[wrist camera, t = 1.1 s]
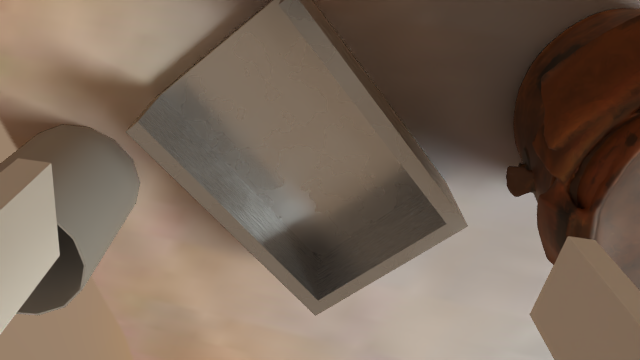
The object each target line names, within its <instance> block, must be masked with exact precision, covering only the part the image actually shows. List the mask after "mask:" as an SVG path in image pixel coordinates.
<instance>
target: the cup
mask: <svg viewBox="0 0 640 360" xmlns="http://www.w3.org/2000/svg"><path fill="white" fill-rule="evenodd" d="M18 158H20V159H27V160H34V161H41V162H48V163H51V165H52V176H53V186H54V197H55V208H56V219H57V230H58V241H59V252H60V256H59V257H58V259H57V260H56V261H55V263H54V264H53V265H52V267H51V268H50V269H49V271H48V272H47V273H46V275H45V276H44V277H43V278H42V280H41V281H40V282H39V284H38V285H37V286H36V288H35V289H34V290H33V292H32V293H31V294H30V296H29V297H28V298H27V300H26V301H25V302H24V304H23V305H22V306H21V308H20V309H19V310H18V312H17V313H16V314H28V315H40V314H44V313H47V312H50V311H54V310H57V309H60V308H64V307H66V305H68V304H69V302H71V301H72V300H73V299H74V298H75V297H76V295H78V294H79V293H80V291H82V289H83V288H84V286H85V284H86V283H87V281H88V280H89V278H90V277H91V275H92V273H93V272H94V270H95V268H96V267H97V265H98V264H99V262H100V260H101V259H102V257H103V255H104V254H105V252H106V251H107V249H108V247H109V246H110V244H111V243H112V241H113V239H114V238H115V236H116V234H117V233H118V231H119V230H120V228H121V226H122V225H123V223H124V222H125V220H126V218H127V217H128V215H129V213H130V212H131V210H132V209H133V207H134V205H135V204H136V201H137V196H138V191H139V186H140V180H139V177H138V174H137V171H136V168H135V165H134V162H133V160H132V158H131V157H130V156H129V155H128V154H127V153H126V152H125V151H124V150H123V148H122V147H121V146H120V145H119V144H118V143H117V142H116V141H115V140H114V139H112V138H110V137H108V136H106V135H104V134H102V133H100V132H98V131H96V130H94V129H92V128H90V127H82V126H72V125H60V126H57V127H54V128H51V129H49V130H46V131H43V132H40V133H39V134H37V135H36V136H35V137H33V138H32V139H31V140H30V141H28V142H27V143H26V144H25V145H23V146H22V147H21V148H19V149H18V150H17V151H16V152H14V153H13V154H12V155H11V156H9V157H8V158H7V159H6V160H5V161H3V162H2V163H0V172H2V171H3V170H4V169H5V168H7V167H8V166H9V165H10V164H12V163H13V162H14V161H15V160H16V159H18Z"/></svg>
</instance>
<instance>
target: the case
mask: <svg viewBox="0 0 640 360" xmlns="http://www.w3.org/2000/svg"><path fill="white" fill-rule="evenodd" d="M514 135H515V142H516V146H517V149H518V152H519V154H520V157H521V160H522V162H523V164H521V163H519V167H513V166H509V167H508V168H507V175H506V179H507V187H508V189H509V191H510V192H511V193H512V194H513V195H514V196H515V197H519V196H521V195H523V194H526V193H529V192H532V193H534V195H535V197H536V200H537V202H538V205H537V225H538V230H539V235H540V238H541V241H542V245H543V248H544V251H545V254H546V257H547V259H548V260H549V261H550V262H551V263H552V264H553V265H554V264H555V262H556V260H557V258H558V255H559V253H560V251H561V249H562V247H563V245H564V243H565V241H566V239H567V237H568V236H570V237H577V238H584V239H591V240H596V242H597V243H598V244H599V245H600V246H601V247H602V248H603V249H604V251H605V252H606V253H607V254H608V255H609V256H610V257H611V259H612V260H613V261H614V262H615V263H616V264H617V265H618V267H619V268H620V269H621V270H622V271H623V272H624V273H625V274H626V276H627V277H628V278H629V279H630V280H631V281H632V282H633V284H634V285H635V286H636V287H637V288H638V289H639V290H640V9H629V8H622V9H613V10H608V11H604V12H600V13H597V14H594V15H592V16H589V17H587V18H585V19H583V20H581V21H580V22H578V23H576V24H575V25H573V26H571V27H570V28H568V29H567V30H566V31H564V32H563V33H562V34H560V35H559V36H558V37H556V38H555V39H554V40H553V41H552V42H551V43H550V44H548V45H547V46H546V47H545V48H544V50H543V51H542V52H541V53H540V54H539V55H538V56H537V58H536V59H535V60H534V62H533V63H532V65H531V66H530V68H529V70H528V72H527V74H526V76H525V78H524V80H523V82H522V84H521V87H520V89H519V92H518V96H517V100H516V105H515V111H514Z"/></svg>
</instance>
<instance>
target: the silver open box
mask: <svg viewBox="0 0 640 360" xmlns="http://www.w3.org/2000/svg"><path fill="white" fill-rule="evenodd" d="M126 133H127V134H128V135H129V136H130V137H131V138H132V139H133V140H134V141H136V142H137V143H138V144H139V145H140V146H141V147H142V148H143V149H144V150H145V151H146V152H147V153H148V154H149V155H150V156H151V157H152V158H153V159H154V160H155V161H156V162H157V163H158V164H159V165H160V166H161V167H162V168H163V169H164V170H165V171H167V172H168V173H169V174H170V175H171V176H172V177H173V178H174V179H175V180H176V181H177V182H178V183H179V184H180V185H181V186H182V187H183V188H184V189H185V190H186V191H187V192H188V193H189V194H190V195H191V196H192V197H193V198H194V199H195V200H196V201H197V202H199V203H200V204H201V205H202V206H203V207H204V208H205V209H206V210H207V211H208V212H209V213H210V214H211V215H212V216H213V217H214V218H215V219H216V220H217V221H218V222H219V223H220V224H221V225H222V226H223V227H224V228H225V229H226V230H227V231H228V232H230V233H231V234H232V235H233V236H234V237H235V238H236V239H237V240H238V241H239V242H240V243H241V244H242V245H243V246H244V247H245V248H246V249H247V250H248V251H249V252H250V253H251V254H252V255H253V256H254V257H255V258H256V259H257V260H258V261H259V262H261V263H262V264H263V265H264V266H265V267H266V268H267V269H268V270H269V271H270V272H271V273H272V274H273V275H274V276H275V277H276V278H277V279H278V280H279V281H280V282H281V283H282V284H283V285H284V286H285V287H286V288H287V289H288V290H289V291H290V292H292V293H293V294H294V295H295V296H296V297H297V298H298V299H299V300H300V301H301V302H302V303H303V304H304V305H305V306H306V307H307V308H308V309H309V310H310V311H311V312H312V313H313V314H314V315H315V316H316V315H317V314H319V313H321V312H322V311H324V310H326V309H328V308H329V307H331V306H333V305H334V304H336V303H338V302H340V301H341V300H343V299H345V298H346V297H348V296H350V295H351V294H353V293H355V292H357V291H358V290H360V289H362V288H363V287H365V286H367V285H368V284H370V283H372V282H374V281H375V280H377V279H379V278H380V277H382V276H384V275H385V274H387V273H389V272H391V271H392V270H394V269H396V268H397V267H399V266H401V265H403V264H404V263H406V262H408V261H409V260H411V259H413V258H414V257H416V256H418V255H420V254H421V253H423V252H425V251H426V250H428V249H430V248H431V247H433V246H435V245H437V244H438V243H440V242H442V241H443V240H445V239H447V238H448V237H450V236H452V235H454V234H455V233H457V232H459V231H460V230H462V229H464V228H466V227H467V226H468V225H467V223H466V221H465V219H464V217H463V215H462V213H461V211H460V209H459V207H458V205H457V203H456V201H455V199H454V197H453V195H452V193H451V191H450V189H449V187H448V185H447V183H446V182H445V180H444V179H443V178H442V176H441V175H440V173H439V172H438V171H437V169H436V168H435V167H434V165H433V164H432V163H431V161H430V160H429V158H428V157H427V156H426V154H425V153H424V152H423V150H422V149H421V148H420V146H419V145H418V144H417V142H416V141H415V139H414V138H413V137H412V135H411V134H410V133H409V131H408V130H407V129H406V127H405V126H404V124H403V123H402V122H401V120H400V119H399V118H398V116H397V115H396V114H395V112H394V111H393V109H392V108H391V107H390V105H389V104H388V103H387V101H386V100H385V99H384V97H383V96H382V94H381V93H380V92H379V90H378V89H377V88H376V86H375V85H374V84H373V82H372V81H371V80H370V78H369V77H368V75H367V74H366V73H365V71H364V70H363V69H362V67H361V66H360V65H359V63H358V62H357V60H356V59H355V58H354V56H353V55H352V54H351V52H350V51H349V50H348V48H347V47H346V45H345V44H344V43H343V41H342V40H341V39H340V37H339V36H338V35H337V33H336V32H335V30H334V29H333V28H332V26H331V25H330V24H329V22H328V21H327V20H326V18H325V17H324V15H323V14H322V13H321V11H320V10H319V9H318V7H317V6H316V5H315V3H314V2H313V1H312V0H272V1H270V2H269V3H268V4H267V5H266V6H264V7H263V8H262V9H261V10H260V11H259V12H257V13H256V14H255V15H254V16H253V17H251V18H250V19H249V20H248V21H247V22H245V23H244V24H243V25H242V26H241V27H239V28H238V29H237V30H236V31H235V32H233V33H232V34H231V35H230V36H229V37H227V38H226V39H225V40H224V41H223V42H221V43H220V44H219V45H218V46H217V47H216V48H214V49H213V50H212V51H211V52H210V53H208V54H207V55H206V56H205V57H204V58H202V59H201V60H200V61H199V62H198V63H196V64H195V65H194V66H193V67H192V68H190V69H189V70H188V71H187V72H186V73H184V74H183V75H182V76H181V77H180V78H178V79H177V80H176V81H175V82H174V83H173V84H171V85H170V86H169V87H168V88H167V89H165V90H164V91H163V92H162V93H161V94H159V95H158V96H157V97H156V98H155V99H154V100H153V101H152V102H151V103H150V104H149V106H148V107H147V108H146V109H145V110H144V111H143V112H142V114H141V115H140V116H139V117H138V118H137V119H136V121H135V122H134V123H133V124H132V125H131V126H130V127H129V129H128V130H127V131H126Z"/></svg>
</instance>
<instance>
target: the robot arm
mask: <svg viewBox="0 0 640 360" xmlns="http://www.w3.org/2000/svg"><path fill="white" fill-rule="evenodd" d="M59 256H60V252H59V241H58V230H57V219H56V208H55V197H54V186H53V176H52V165H51V163H48V162H41V161H34V160H27V159H20V158H18V159H16V160H15V161H14V162H13V163H12V164H10V165H9V166H8V167H7V168H5V169H4V170H3V171H2V172H0V334H1V333H2V331H3V330H4V329H5V327H6V326H7V325H8V324H9V322H10V321H11V320H12V318H13V317H14V316H15V314H16V313H17V312H18V310H19V309H20V308H21V306H22V305H23V304H24V302H25V301H26V300H27V298H28V297H29V296H30V294H31V293H32V292H33V290H34V289H35V288H36V286H37V285H38V284H39V282H40V281H41V280H42V278H43V277H44V276H45V275H46V273H47V272H48V271H49V269H50V268H51V267H52V265H53V264H54V263H55V261H56V260H57V259H58V257H59ZM530 316H531V318H532V320H533V321H534V323H535V325H536V327H537V329H538V331H539V332H540V334H541V336H542V338H543V340H544V341H545V343H546V345H547V347H548V349H549V351H550V352H551V354H552V356H553V358H554V360H640V290H639V289H638V288H637V287H636V286H635V285H634V284H633V282H632V281H631V280H630V279H629V278H628V277H627V276H626V274H625V273H624V272H623V271H622V270H621V269H620V268H619V267H618V265H617V264H616V263H615V262H614V261H613V260H612V259H611V257H610V256H609V255H608V254H607V253H606V252H605V251H604V249H603V248H602V247H601V246H600V245H599V244H598V243H597V242H596V240H591V239H584V238H577V237H570V236H568V237H567V239H566V241H565V243H564V245H563V247H562V249H561V251H560V253H559V255H558V258H557V260H556V262H555V264H554V266H553V268H552V270H551V272H550V274H549V276H548V278H547V280H546V282H545V284H544V286H543V288H542V290H541V292H540V294H539V297H538V299H537V301H536V303H535V305H534V307H533V309H532V311H531V313H530Z"/></svg>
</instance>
